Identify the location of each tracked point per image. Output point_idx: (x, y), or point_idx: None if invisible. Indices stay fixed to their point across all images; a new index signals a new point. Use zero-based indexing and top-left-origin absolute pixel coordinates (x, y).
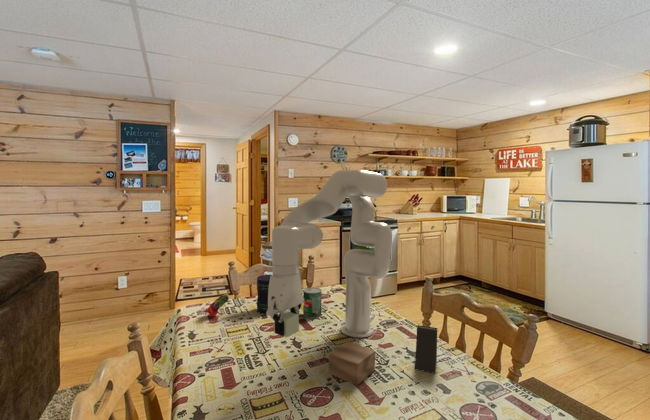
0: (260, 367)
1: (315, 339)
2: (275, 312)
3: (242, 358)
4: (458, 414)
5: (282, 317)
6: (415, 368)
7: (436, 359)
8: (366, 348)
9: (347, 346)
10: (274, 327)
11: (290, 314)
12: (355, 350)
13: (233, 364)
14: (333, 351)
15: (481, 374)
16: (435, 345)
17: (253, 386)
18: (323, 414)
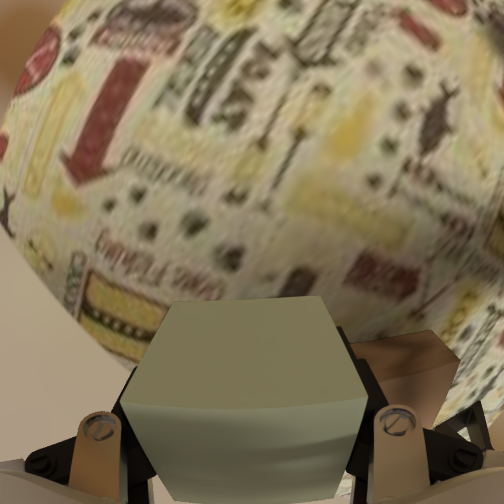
0: (218, 139)
1: (483, 164)
2: (84, 490)
3: (217, 38)
4: (338, 495)
5: (145, 499)
6: (436, 429)
7: (467, 428)
8: (435, 414)
9: (432, 383)
10: (161, 328)
11: (294, 478)
12: (417, 409)
13: (165, 53)
14: (386, 384)
15: None
16: None
17: (126, 225)
18: None
